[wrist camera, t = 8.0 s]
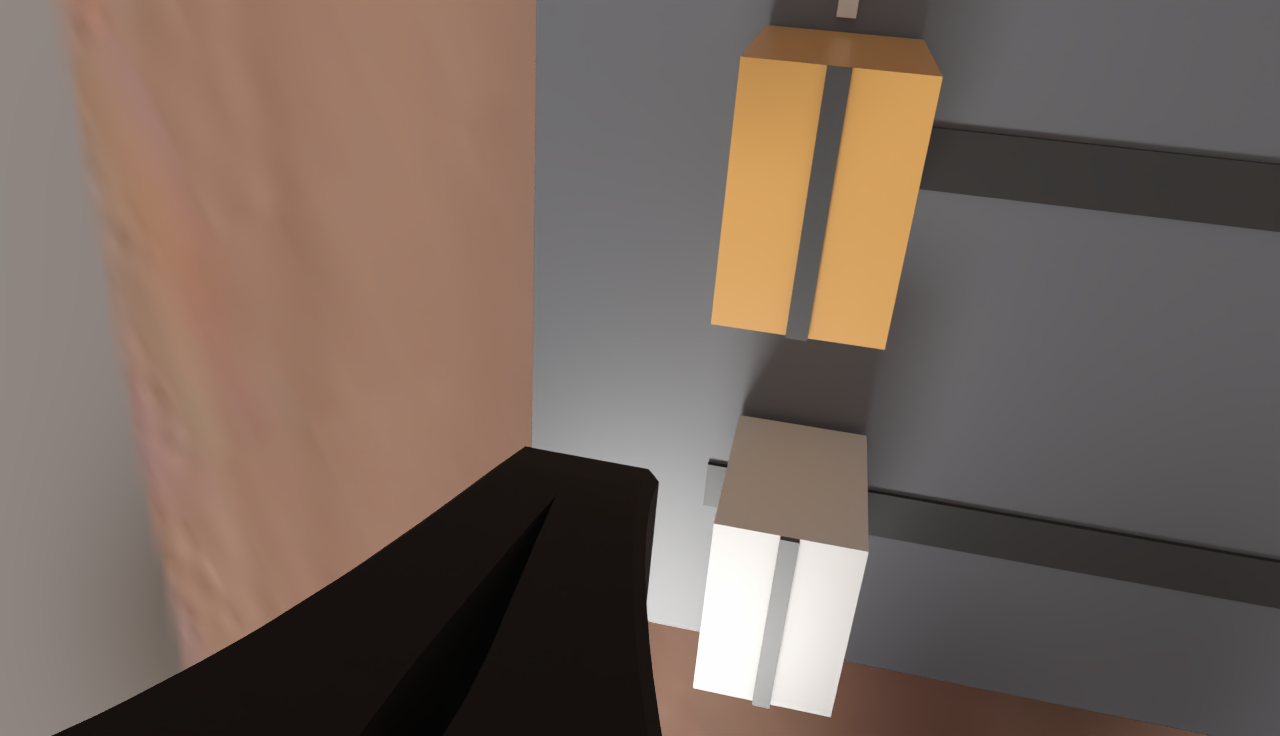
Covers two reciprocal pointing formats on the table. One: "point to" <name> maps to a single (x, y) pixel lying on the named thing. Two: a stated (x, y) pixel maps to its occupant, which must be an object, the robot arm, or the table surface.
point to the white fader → (784, 565)
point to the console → (961, 335)
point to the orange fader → (823, 182)
